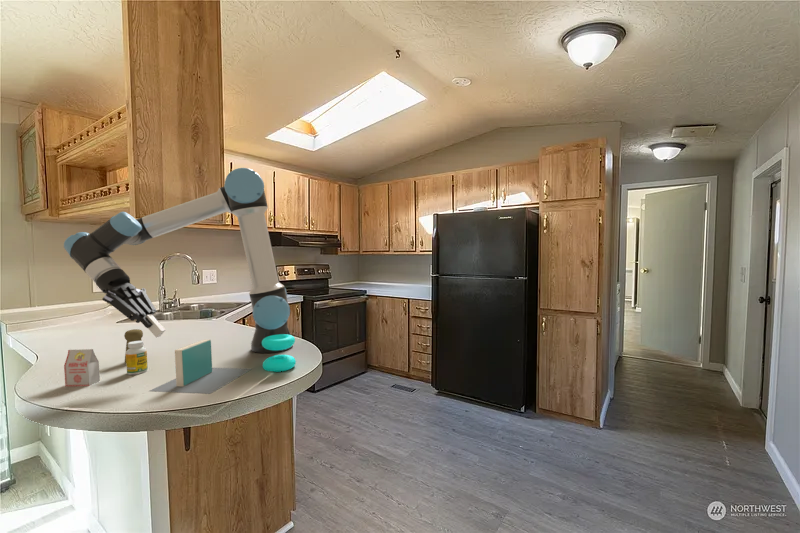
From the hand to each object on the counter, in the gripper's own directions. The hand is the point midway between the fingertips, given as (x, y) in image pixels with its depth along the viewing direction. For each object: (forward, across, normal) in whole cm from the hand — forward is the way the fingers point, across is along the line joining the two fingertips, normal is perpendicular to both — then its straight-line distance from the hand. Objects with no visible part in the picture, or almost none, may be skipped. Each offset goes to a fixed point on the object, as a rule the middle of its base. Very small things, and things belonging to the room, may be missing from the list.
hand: (160, 333), depth 108 cm
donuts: (+30, -14, +11) cm, 35 cm away
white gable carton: (-5, +5, -25) cm, 26 cm away
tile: (+16, -1, -2) cm, 17 cm away
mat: (+19, -1, 0) cm, 19 cm away
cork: (-7, -16, -27) cm, 32 cm away
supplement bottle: (0, -5, -20) cm, 20 cm away
